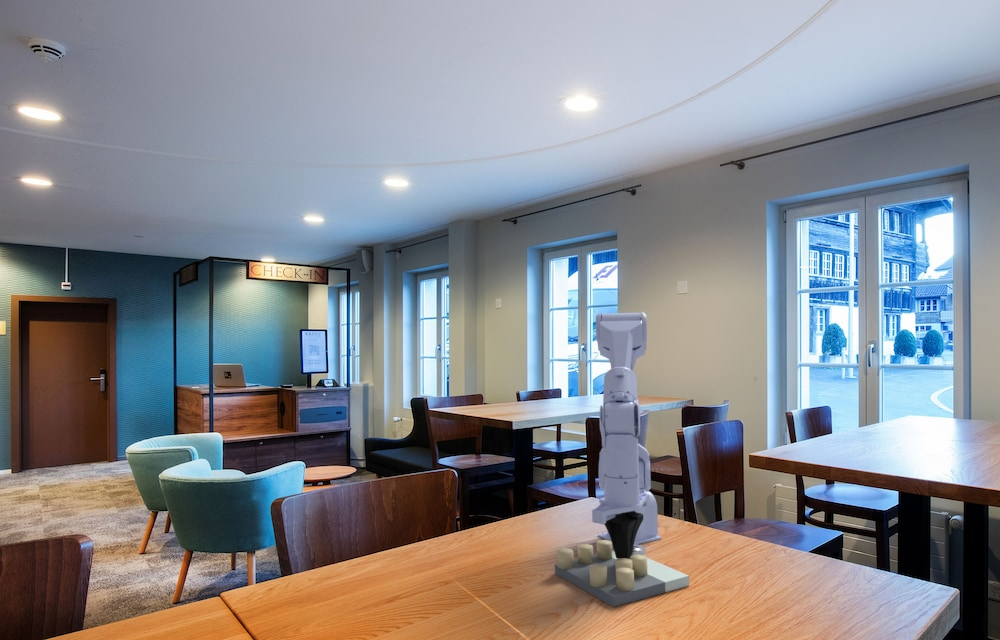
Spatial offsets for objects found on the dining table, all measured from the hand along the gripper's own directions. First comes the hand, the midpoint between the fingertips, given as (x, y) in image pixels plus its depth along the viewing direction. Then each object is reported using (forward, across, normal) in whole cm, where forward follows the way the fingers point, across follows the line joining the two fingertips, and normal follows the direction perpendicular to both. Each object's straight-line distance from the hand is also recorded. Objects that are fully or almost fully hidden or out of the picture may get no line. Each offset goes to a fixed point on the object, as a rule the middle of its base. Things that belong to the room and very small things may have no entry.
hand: (623, 558), depth 100 cm
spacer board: (+2, +2, +1) cm, 4 cm away
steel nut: (+1, -3, 0) cm, 3 cm away
